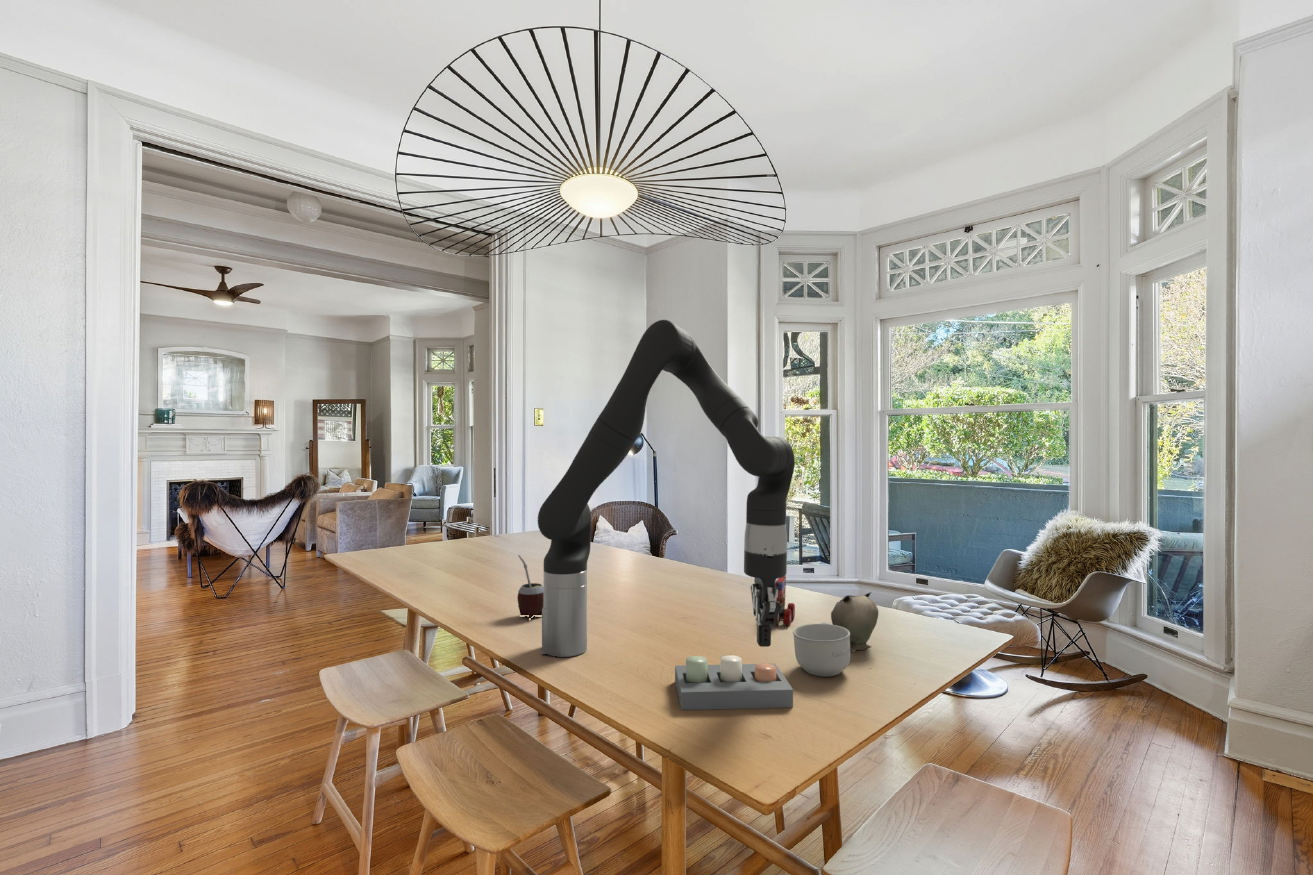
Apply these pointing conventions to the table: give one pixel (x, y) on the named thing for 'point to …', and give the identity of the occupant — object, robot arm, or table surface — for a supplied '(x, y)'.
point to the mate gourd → (530, 596)
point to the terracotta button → (765, 672)
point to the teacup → (822, 648)
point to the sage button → (696, 669)
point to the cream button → (731, 669)
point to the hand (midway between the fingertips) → (763, 645)
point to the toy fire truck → (790, 611)
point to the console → (732, 691)
